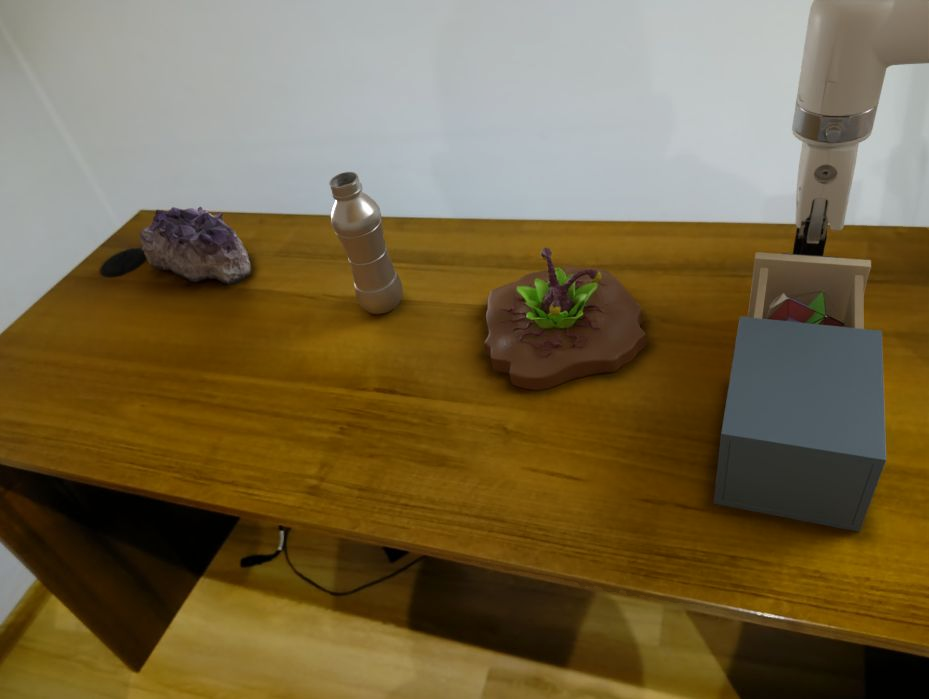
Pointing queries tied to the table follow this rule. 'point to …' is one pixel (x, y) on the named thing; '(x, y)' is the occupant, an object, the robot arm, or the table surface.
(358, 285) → the plastic bottle
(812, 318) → the geometric puzzle
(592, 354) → the plant
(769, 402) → the cabinet
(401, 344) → the table surface
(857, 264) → the drawer
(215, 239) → the geode
